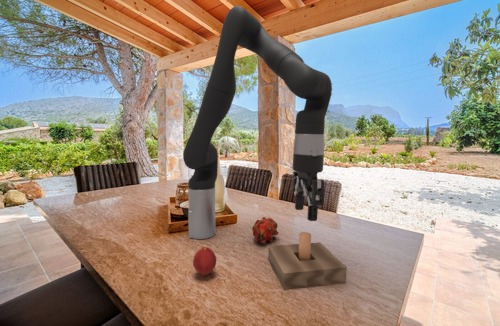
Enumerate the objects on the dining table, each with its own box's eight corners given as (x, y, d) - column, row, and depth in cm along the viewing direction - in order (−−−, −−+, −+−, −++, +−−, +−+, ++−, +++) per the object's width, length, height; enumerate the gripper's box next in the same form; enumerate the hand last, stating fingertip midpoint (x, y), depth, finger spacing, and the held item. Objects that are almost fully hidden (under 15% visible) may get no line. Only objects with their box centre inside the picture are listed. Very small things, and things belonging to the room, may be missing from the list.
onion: (195, 269, 65) (194, 240, 64) (216, 268, 65) (216, 239, 64) (191, 282, 59) (191, 250, 58) (215, 281, 59) (215, 250, 58)
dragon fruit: (272, 237, 88) (261, 257, 78) (254, 222, 90) (241, 240, 79) (285, 222, 85) (276, 241, 74) (266, 207, 86) (255, 223, 75)
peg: (300, 273, 63) (301, 237, 62) (296, 267, 66) (297, 232, 65) (311, 272, 63) (312, 236, 62) (306, 266, 66) (308, 231, 65)
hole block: (283, 289, 56) (283, 273, 56) (268, 259, 70) (268, 246, 70) (345, 282, 59) (346, 267, 59) (319, 254, 73) (320, 242, 72)
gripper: (285, 150, 67) (283, 207, 69) (305, 154, 53) (302, 225, 55) (310, 150, 68) (307, 206, 70) (337, 155, 55) (332, 224, 56)
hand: (305, 214), depth 63 cm, fingers open, 8 cm apart
